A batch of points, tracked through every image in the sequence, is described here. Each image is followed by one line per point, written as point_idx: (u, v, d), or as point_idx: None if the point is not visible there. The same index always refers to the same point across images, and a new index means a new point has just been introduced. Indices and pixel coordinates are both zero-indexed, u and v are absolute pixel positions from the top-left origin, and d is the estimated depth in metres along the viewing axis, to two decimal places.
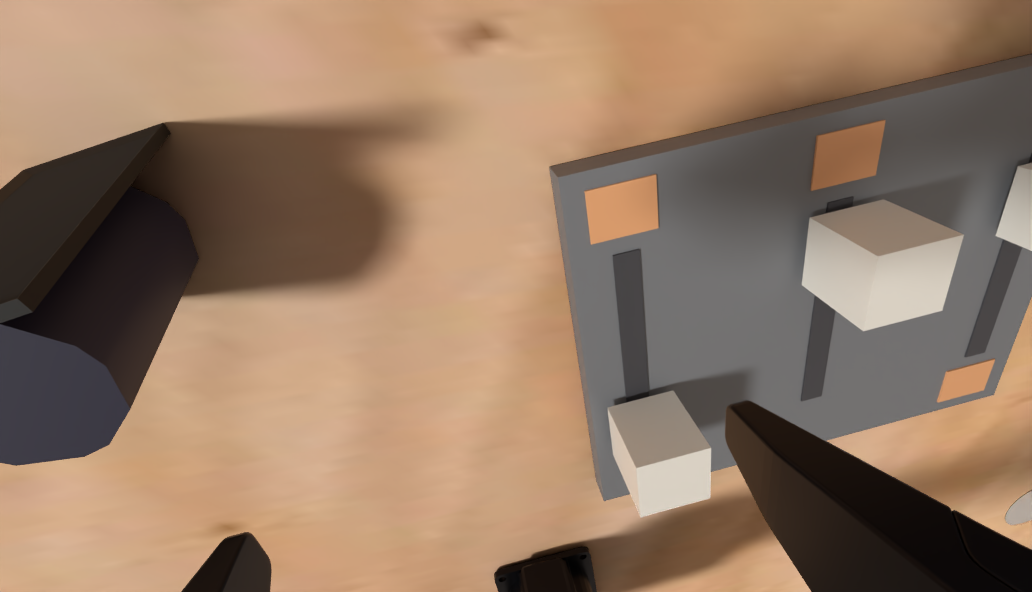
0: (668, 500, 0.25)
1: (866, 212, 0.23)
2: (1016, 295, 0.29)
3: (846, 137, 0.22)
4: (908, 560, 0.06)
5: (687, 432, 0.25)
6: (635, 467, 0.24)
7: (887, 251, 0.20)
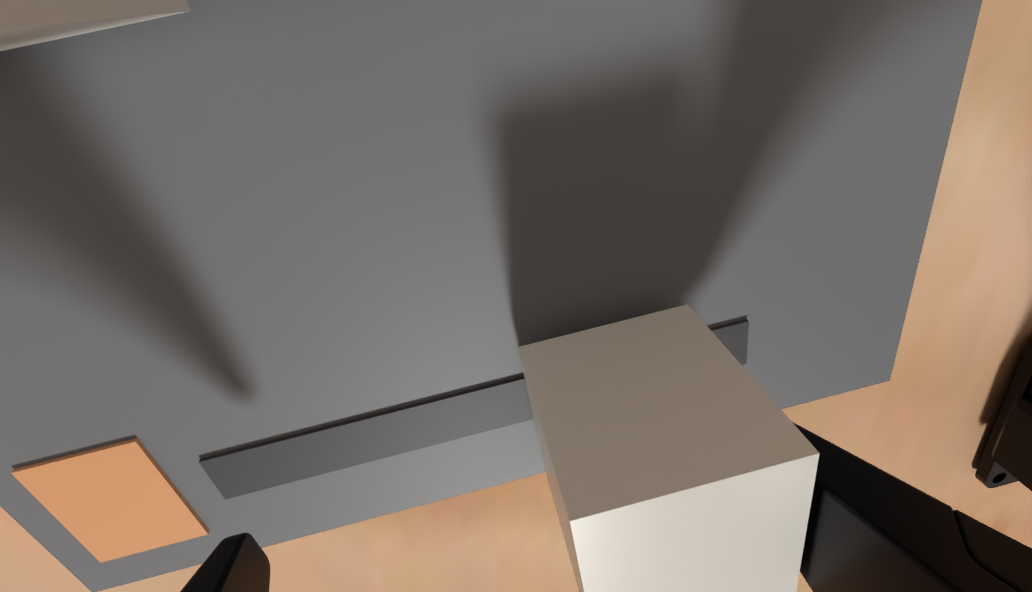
0: (762, 558, 0.08)
1: None
2: None
3: None
4: (910, 560, 0.06)
5: (555, 479, 0.08)
6: None
7: None
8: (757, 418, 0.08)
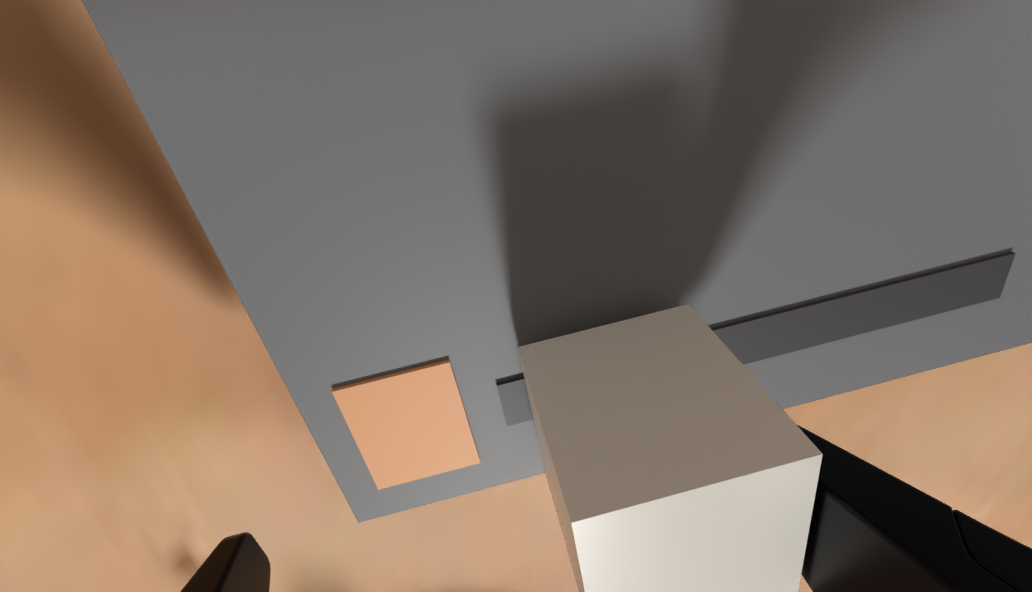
0: (763, 559, 0.08)
1: None
2: None
3: None
4: (909, 560, 0.06)
5: (555, 480, 0.08)
6: None
7: None
8: (759, 419, 0.08)
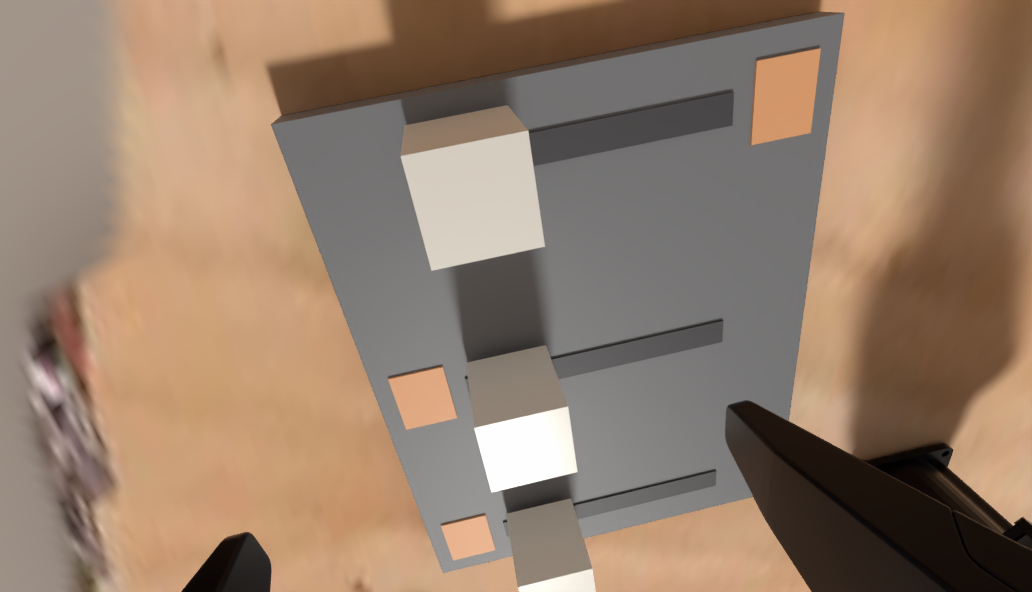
0: None
1: None
2: (637, 85, 0.19)
3: (406, 406, 0.24)
4: (908, 560, 0.06)
5: None
6: None
7: (488, 479, 0.21)
8: (579, 554, 0.25)
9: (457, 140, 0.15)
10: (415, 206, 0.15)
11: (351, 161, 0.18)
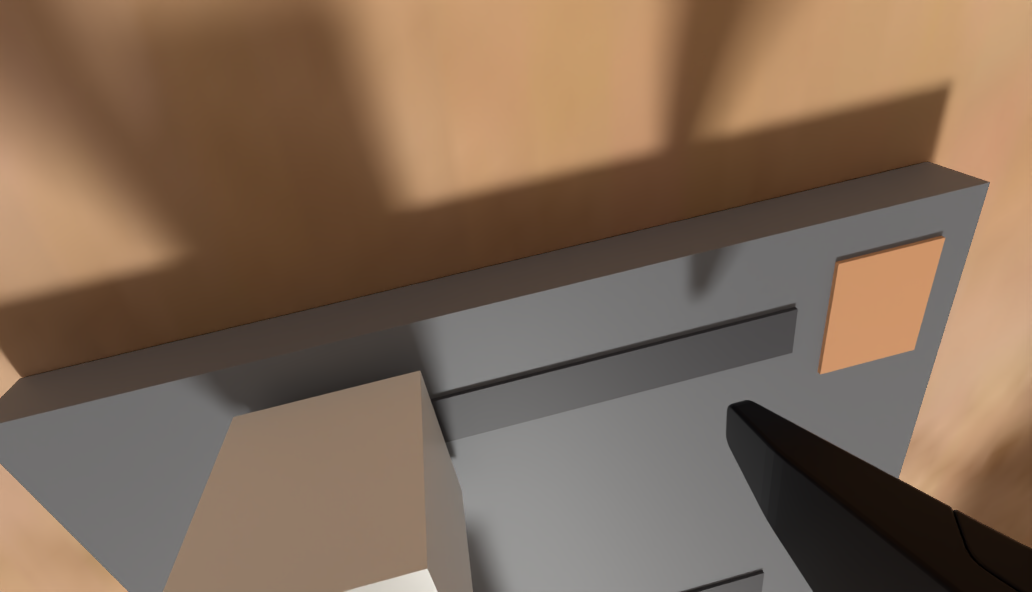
0: None
1: None
2: (634, 312, 0.11)
3: None
4: (909, 559, 0.06)
5: None
6: None
7: None
8: None
9: (281, 571, 0.07)
10: None
11: (139, 463, 0.11)
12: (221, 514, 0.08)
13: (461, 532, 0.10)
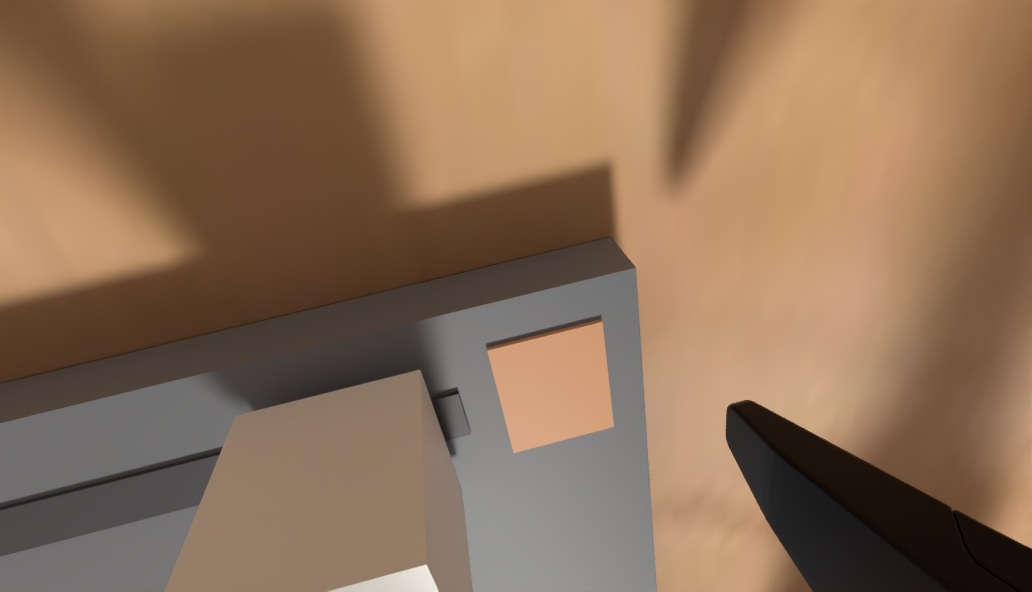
0: None
1: None
2: (270, 402, 0.10)
3: None
4: (909, 559, 0.06)
5: None
6: None
7: None
8: None
9: (282, 567, 0.07)
10: None
11: None
12: (223, 511, 0.08)
13: (461, 530, 0.10)
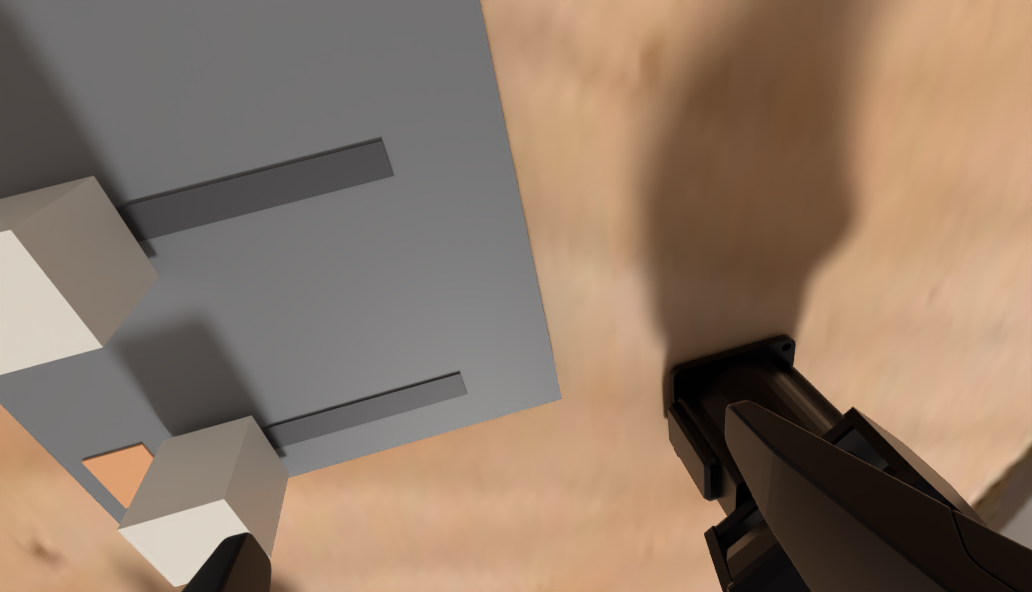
0: None
1: None
2: None
3: None
4: (908, 560, 0.06)
5: None
6: None
7: None
8: (219, 482, 0.18)
9: None
10: None
11: None
12: None
13: None
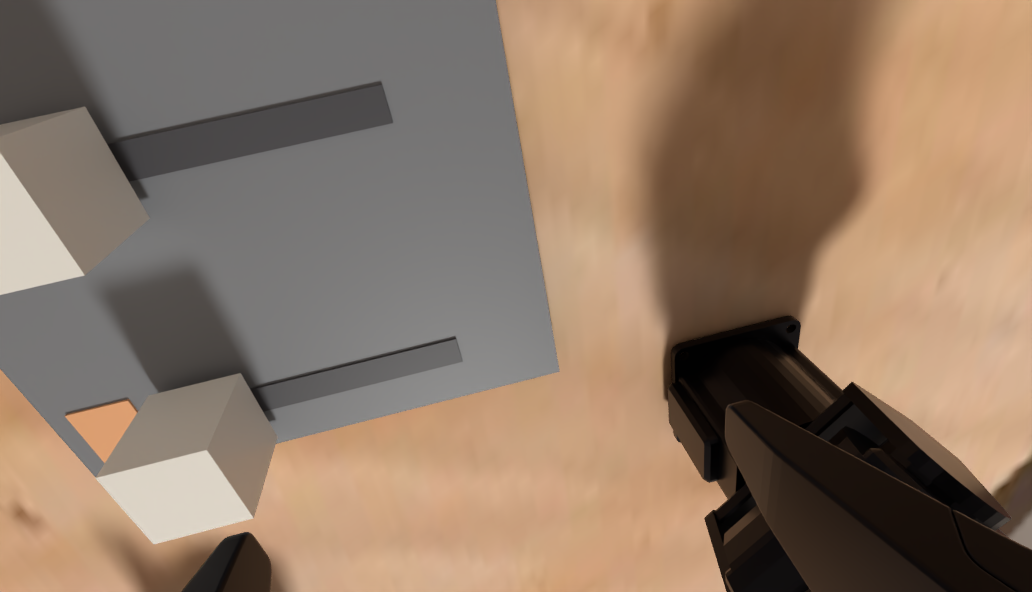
0: (215, 498, 0.18)
1: None
2: None
3: None
4: (908, 560, 0.06)
5: None
6: None
7: None
8: (202, 434, 0.18)
9: None
10: None
11: None
12: None
13: None
